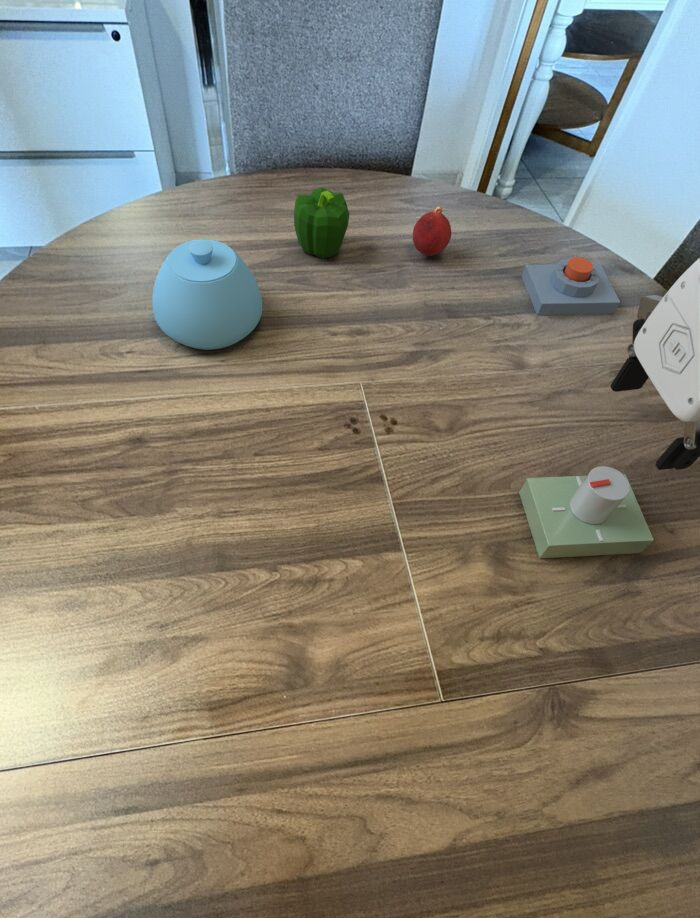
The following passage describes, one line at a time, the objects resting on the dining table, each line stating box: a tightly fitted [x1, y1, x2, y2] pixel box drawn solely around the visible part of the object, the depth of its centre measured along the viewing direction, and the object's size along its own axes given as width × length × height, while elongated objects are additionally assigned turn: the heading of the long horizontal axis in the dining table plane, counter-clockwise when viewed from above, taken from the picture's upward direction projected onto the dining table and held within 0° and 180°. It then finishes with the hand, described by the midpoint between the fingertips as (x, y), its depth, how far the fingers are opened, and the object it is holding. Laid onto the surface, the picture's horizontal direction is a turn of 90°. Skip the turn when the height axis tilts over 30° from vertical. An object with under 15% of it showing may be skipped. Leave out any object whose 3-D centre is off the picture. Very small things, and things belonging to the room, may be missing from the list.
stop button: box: [564, 256, 594, 282], centre depth 90 cm, size 4×4×2 cm
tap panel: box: [518, 473, 655, 559], centre depth 70 cm, size 12×9×3 cm
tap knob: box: [570, 465, 631, 524], centre depth 67 cm, size 4×4×5 cm
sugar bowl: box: [151, 238, 264, 351], centre depth 82 cm, size 15×15×12 cm
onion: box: [412, 206, 453, 257], centre depth 94 cm, size 6×6×8 cm
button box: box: [521, 258, 621, 316], centre depth 92 cm, size 12×9×4 cm
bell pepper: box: [293, 187, 350, 259], centre depth 93 cm, size 8×8×10 cm
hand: (646, 425), depth 59 cm, fingers open, 9 cm apart
